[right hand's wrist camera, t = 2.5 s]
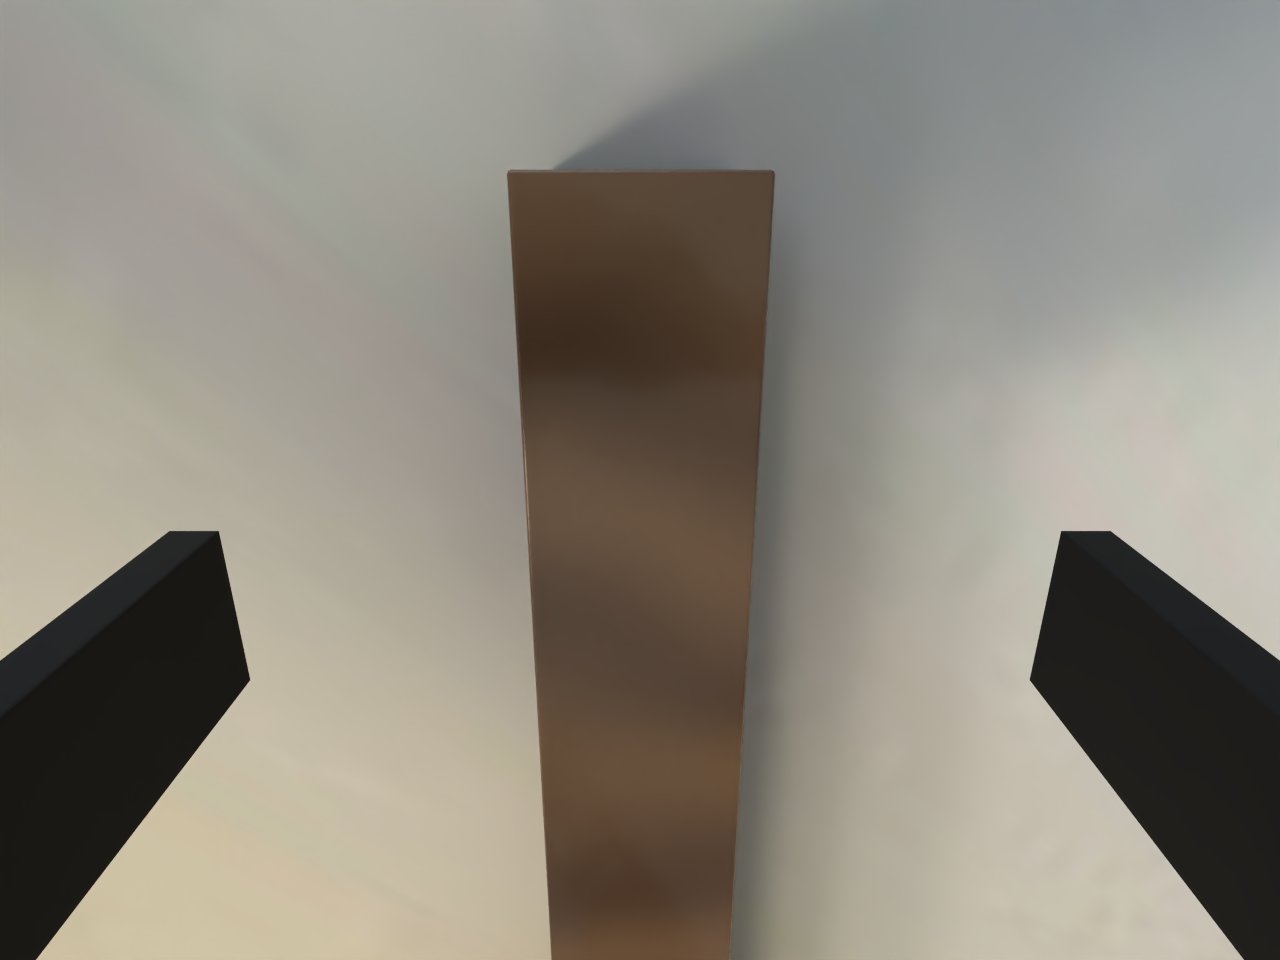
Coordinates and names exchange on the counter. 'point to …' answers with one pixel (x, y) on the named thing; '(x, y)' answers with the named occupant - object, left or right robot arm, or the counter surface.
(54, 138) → the counter surface
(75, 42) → the counter surface
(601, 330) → the bar
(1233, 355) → the counter surface
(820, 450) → the counter surface
